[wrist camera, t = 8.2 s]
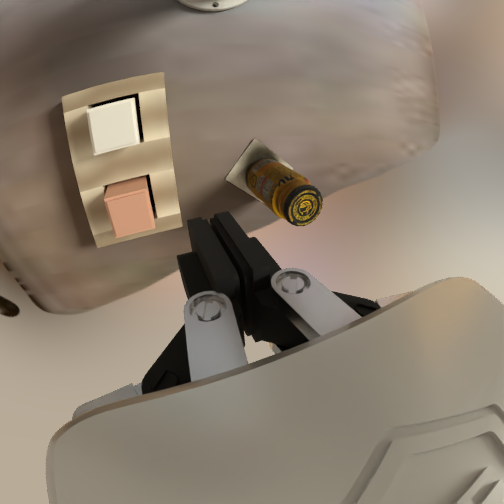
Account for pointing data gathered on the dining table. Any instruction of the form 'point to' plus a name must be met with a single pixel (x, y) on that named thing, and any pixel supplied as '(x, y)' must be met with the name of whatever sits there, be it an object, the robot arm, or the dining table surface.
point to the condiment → (276, 185)
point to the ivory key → (113, 126)
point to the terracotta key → (129, 206)
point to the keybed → (124, 155)
